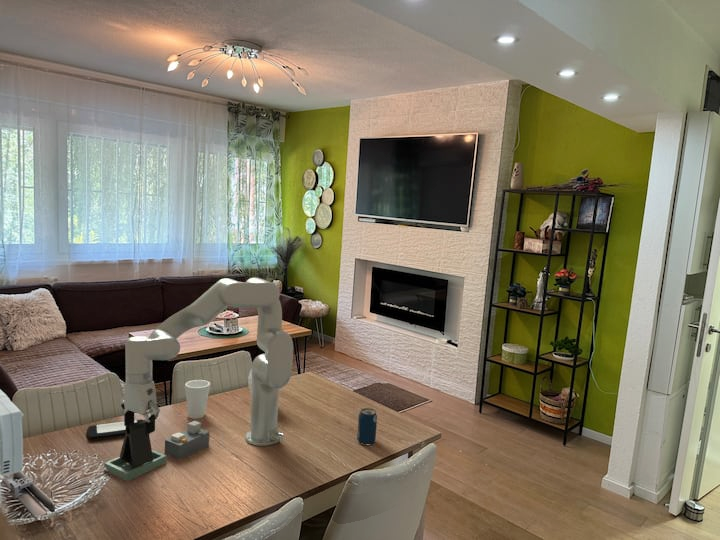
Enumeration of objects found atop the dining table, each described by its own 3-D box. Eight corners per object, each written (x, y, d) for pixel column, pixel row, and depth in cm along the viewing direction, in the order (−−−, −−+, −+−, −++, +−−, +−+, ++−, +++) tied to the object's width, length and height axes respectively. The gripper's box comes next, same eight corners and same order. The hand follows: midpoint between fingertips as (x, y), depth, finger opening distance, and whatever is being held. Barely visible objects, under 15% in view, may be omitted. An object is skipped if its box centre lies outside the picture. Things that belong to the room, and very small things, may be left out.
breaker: (200, 432, 170) (200, 422, 170) (193, 435, 168) (194, 425, 167) (194, 430, 172) (194, 420, 171) (187, 433, 169) (187, 423, 169)
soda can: (378, 442, 183) (381, 412, 182) (366, 448, 178) (369, 416, 177) (365, 436, 188) (367, 406, 186) (352, 441, 183) (355, 410, 181)
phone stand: (119, 457, 154) (120, 421, 152) (137, 451, 159) (138, 415, 157) (134, 467, 148) (136, 430, 147) (153, 460, 153) (154, 424, 152)
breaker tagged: (184, 444, 164) (184, 434, 164) (177, 447, 162) (177, 437, 161) (178, 442, 166) (178, 432, 165) (170, 445, 163) (171, 435, 163)
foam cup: (213, 414, 196) (215, 383, 195) (194, 422, 189) (196, 389, 187) (198, 408, 201) (199, 378, 200) (179, 415, 194) (180, 383, 192)
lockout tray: (166, 462, 157) (166, 455, 157) (127, 481, 145) (127, 474, 145) (143, 452, 162) (143, 446, 162) (104, 470, 150) (104, 462, 150)
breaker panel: (208, 445, 171) (209, 430, 170) (179, 460, 159) (179, 443, 159) (194, 439, 174) (195, 424, 174) (164, 453, 163) (165, 438, 162)
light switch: (144, 415, 188) (149, 426, 176) (144, 423, 188) (149, 434, 176) (86, 423, 178) (86, 435, 166) (85, 431, 178) (86, 444, 166)
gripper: (168, 378, 150) (168, 431, 152) (131, 367, 158) (132, 417, 160) (147, 385, 143) (148, 440, 146) (110, 374, 152) (111, 426, 154)
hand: (139, 428), depth 153 cm, fingers open, 9 cm apart
